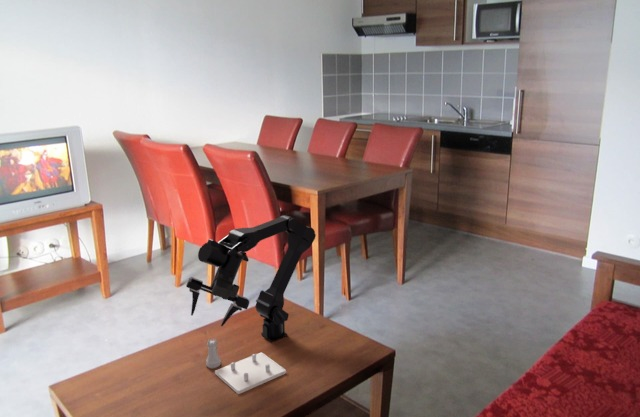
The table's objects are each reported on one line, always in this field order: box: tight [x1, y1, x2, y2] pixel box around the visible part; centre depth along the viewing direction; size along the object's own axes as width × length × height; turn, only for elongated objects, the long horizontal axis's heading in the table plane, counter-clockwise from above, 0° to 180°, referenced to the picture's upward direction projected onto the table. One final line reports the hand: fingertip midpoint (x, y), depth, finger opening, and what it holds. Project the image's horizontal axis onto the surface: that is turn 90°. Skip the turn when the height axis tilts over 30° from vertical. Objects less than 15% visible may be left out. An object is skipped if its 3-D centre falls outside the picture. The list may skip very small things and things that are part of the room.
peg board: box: [214, 352, 287, 395], centre depth 157 cm, size 16×13×3 cm
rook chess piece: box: [205, 338, 222, 369], centre depth 160 cm, size 4×4×8 cm
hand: (206, 320), depth 158 cm, fingers open, 9 cm apart
